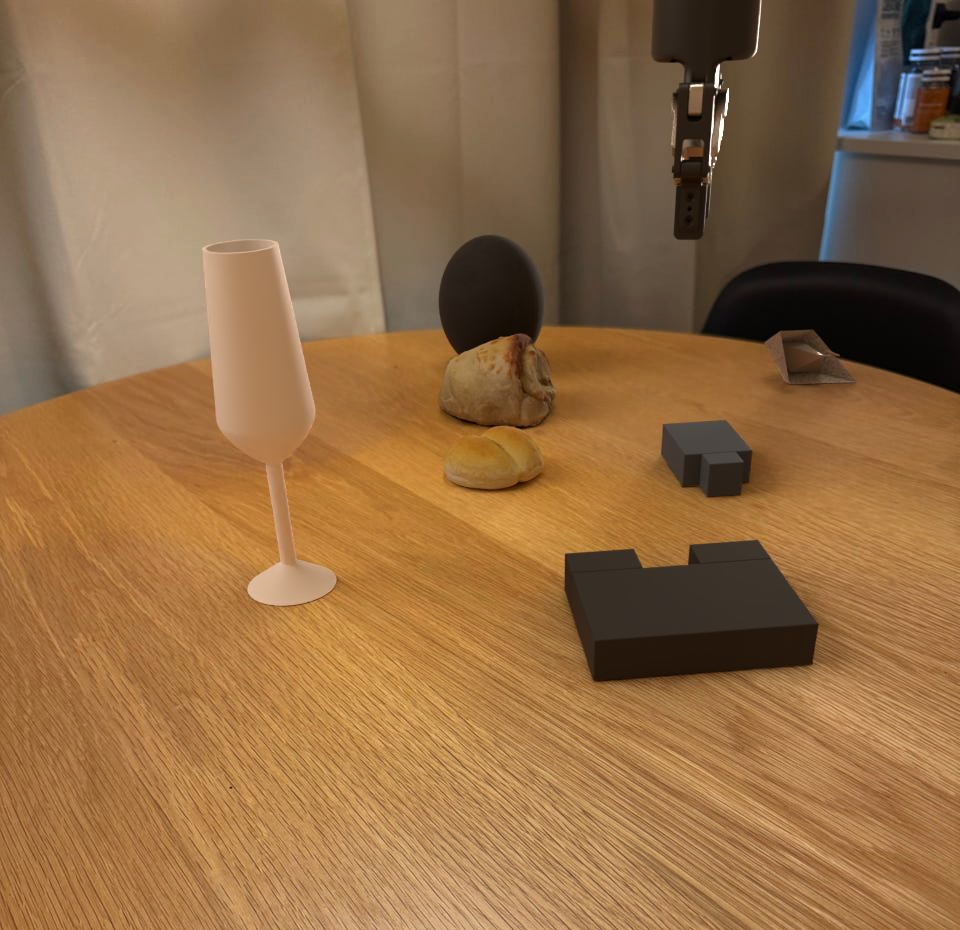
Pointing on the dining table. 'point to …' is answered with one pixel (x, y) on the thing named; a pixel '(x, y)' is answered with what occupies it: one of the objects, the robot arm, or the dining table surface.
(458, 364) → the pastry
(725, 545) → the notch pad
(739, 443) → the pad
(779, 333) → the paper boat
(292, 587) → the champagne flute
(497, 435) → the bread roll
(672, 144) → the robot arm
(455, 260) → the decorative egg
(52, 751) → the dining table surface
